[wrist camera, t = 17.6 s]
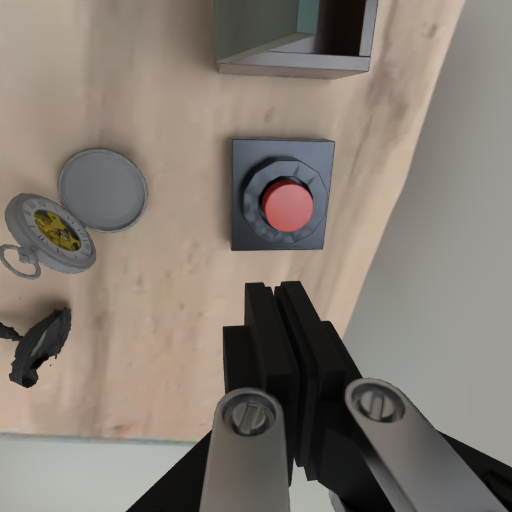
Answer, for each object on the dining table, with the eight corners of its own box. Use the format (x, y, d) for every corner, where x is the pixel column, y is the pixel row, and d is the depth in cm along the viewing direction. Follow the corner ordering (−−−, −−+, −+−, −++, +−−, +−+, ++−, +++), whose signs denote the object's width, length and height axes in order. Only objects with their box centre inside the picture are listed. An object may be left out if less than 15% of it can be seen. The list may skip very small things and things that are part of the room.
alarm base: (230, 136, 28) (233, 140, 24) (326, 139, 29) (343, 143, 25) (229, 242, 32) (232, 259, 28) (315, 240, 33) (329, 257, 29)
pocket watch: (157, 164, 28) (133, 191, 19) (134, 256, 31) (103, 319, 22) (48, 128, 26) (-38, 138, 17) (33, 230, 29) (-48, 286, 20)
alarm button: (262, 179, 26) (266, 183, 24) (309, 179, 27) (316, 184, 25) (260, 225, 27) (264, 232, 26) (305, 225, 28) (311, 232, 26)
